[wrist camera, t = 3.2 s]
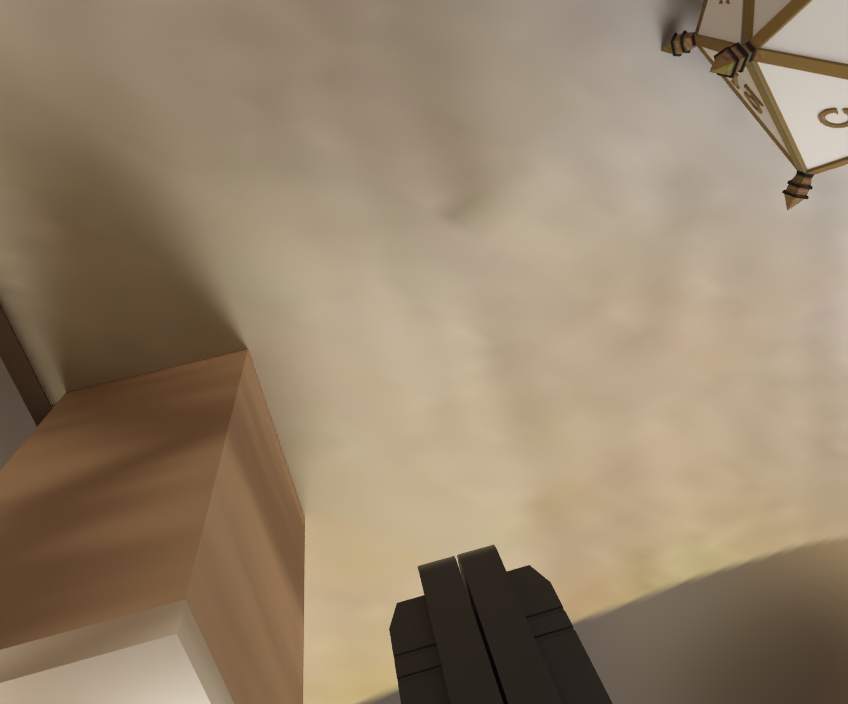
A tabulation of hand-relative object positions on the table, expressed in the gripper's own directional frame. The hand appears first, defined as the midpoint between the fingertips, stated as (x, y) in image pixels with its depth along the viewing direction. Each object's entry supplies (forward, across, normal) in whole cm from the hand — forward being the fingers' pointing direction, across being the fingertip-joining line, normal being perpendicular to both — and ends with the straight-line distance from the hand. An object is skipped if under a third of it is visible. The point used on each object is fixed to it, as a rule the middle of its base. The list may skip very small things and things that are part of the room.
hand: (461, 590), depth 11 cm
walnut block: (+8, +6, 0) cm, 10 cm away
